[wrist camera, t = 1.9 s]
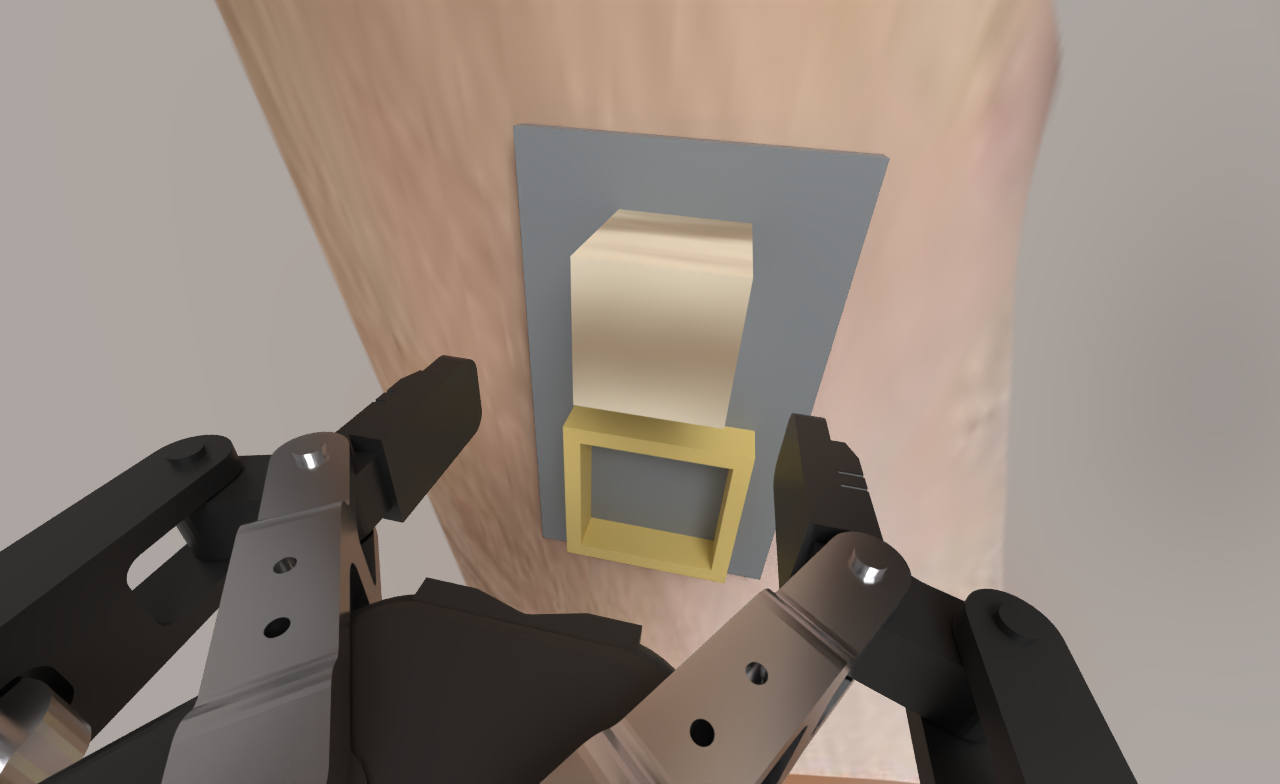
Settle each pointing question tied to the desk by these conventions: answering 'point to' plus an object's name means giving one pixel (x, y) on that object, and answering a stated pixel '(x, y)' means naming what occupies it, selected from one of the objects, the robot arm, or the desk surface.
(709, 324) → the beech block
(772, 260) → the puzzle board
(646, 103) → the desk surface
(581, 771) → the robot arm
